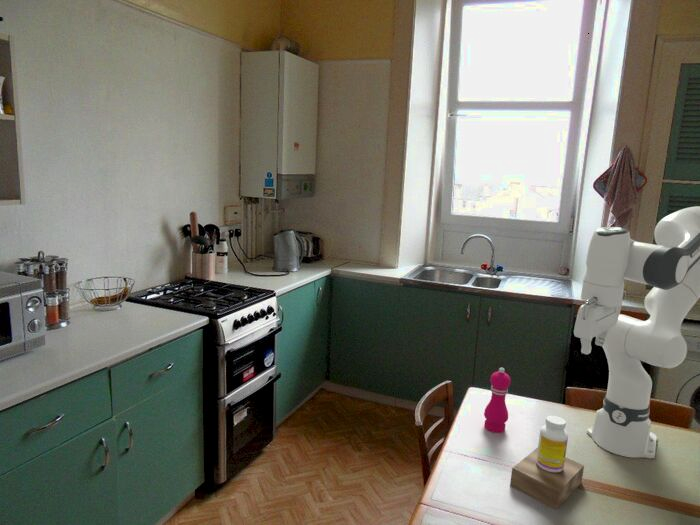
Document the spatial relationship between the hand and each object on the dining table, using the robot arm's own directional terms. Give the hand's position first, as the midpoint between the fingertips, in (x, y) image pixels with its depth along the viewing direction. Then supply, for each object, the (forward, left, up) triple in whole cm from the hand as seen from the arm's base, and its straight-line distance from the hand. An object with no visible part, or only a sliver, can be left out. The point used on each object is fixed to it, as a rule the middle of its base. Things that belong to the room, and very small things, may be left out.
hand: (592, 349), depth 124 cm
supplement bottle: (+5, -4, -32) cm, 33 cm away
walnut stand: (+5, -4, -37) cm, 38 cm away
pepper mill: (-11, -28, -37) cm, 48 cm away
